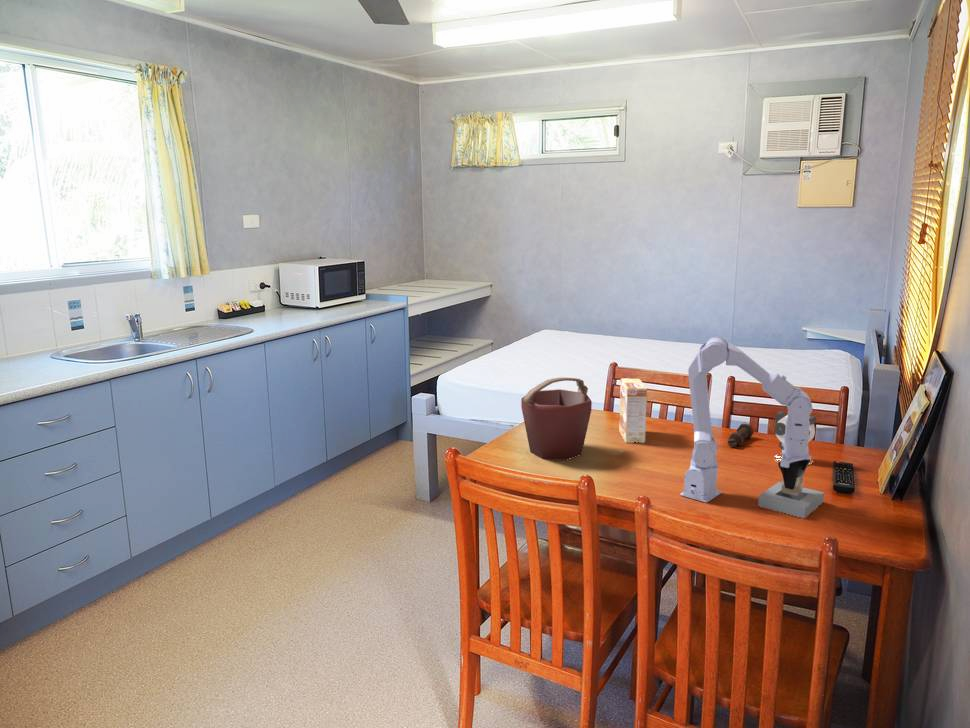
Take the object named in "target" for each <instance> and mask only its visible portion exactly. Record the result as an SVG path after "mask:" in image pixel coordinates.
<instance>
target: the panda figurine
mask: <svg viewBox="0 0 970 728" xmlns="http://www.w3.org/2000/svg"><path fill="white" fill-rule="evenodd" d="M787 417H788V414H787V415H786V413H785V412H784V411H779V412H778V413H776V414H775V415H774V420H775V421H776V422H777V423H776V424H775V426H774V434H775V436H776V438H777V439H778V440H779V444H778V447H779V448H780V450H781V454H782V455H783V451H784V441H785V429H786V419H787ZM809 422H810V426H809V438H808V443H809V442H811V441H812V440H813V439H814V437H815V433H816V428H815V423H817V417H816V416H813V415H810V419H809ZM777 455H778V454H776V455H774V457H776V458H780V457H781V456H777ZM781 458H782V457H781ZM776 460H777V461H778V460H780V461H781V459H776ZM776 460H775V461H776ZM777 461H776V462H777ZM812 462H813V463H814V460H813V461H812ZM809 464H810V463H809ZM811 464H812V463H811ZM812 465H813V464H812Z"/></svg>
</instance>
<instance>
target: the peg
mask: <svg viewBox="0 0 970 728" xmlns="http://www.w3.org/2000/svg"><path fill="white" fill-rule="evenodd" d="M804 474H805V472H804V470H800V471H799V473H798V475H797V478H796V483H795V487H794V489H793V490H792V489H788V488H785V486H784V480H783V477H782V478H781V479H782V481H781V482H782V491H781V492H783V493H787V494H791V495H795V496H797V495H798V494H800V493H801V492H802V489H803V486H804V477H805V476H804Z"/></svg>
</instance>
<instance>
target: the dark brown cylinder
mask: <svg viewBox="0 0 970 728" xmlns="http://www.w3.org/2000/svg"><path fill="white" fill-rule="evenodd" d="M754 434H755V431H754V429H753V427H752V425H751V424H747V423H741V424H740V425H739V426H738V428H737V429H736V430H735V432H732V433H731V434H730V435H729V437H728V439H727V445H728V447H730V448H735V447H738V446H737V445H740V446H741V445H742V444H743V442H745V439H746V438H752V436H753V435H754Z"/></svg>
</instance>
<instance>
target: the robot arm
mask: <svg viewBox="0 0 970 728" xmlns="http://www.w3.org/2000/svg"><path fill="white" fill-rule="evenodd" d="M723 363H725V366H737V367H738V368H740V369H741V370H743V371H744V372H745V373H746V374H748V375H750V376H751V377H752V378H754V379H756V381H758V382H759V383H761V386H762V391H763V392H764V393H766V394H767V395H769V396H770V397H771V398H772V399H774V401H776V402H778V403H779V404H780V405H781V406H785V407H786V408H787V415H788V417H787V419H786V429H785V441H784V451H783V455H782V459H781V461H779V462H777V465H778V467H779V470H780V471H781V475H782V478H783V480H784V486H785V488H788V489H792V490H793V489H794V487H795V483H796V478H797V475H798V473H799V471H800V470H804V473H805V471H806V469H807V467H809V466H808V464H809V463H810V461H811V459H812V455H810V454H809V451H810V450H809V449H810V447H808V446H809V442H808V438H809V426H810V422H809V419H810V417H811V414H812V413H813V409H814V408H813V404H812V401H811V397H810V396H809V394H807V393H806V391H804V390H802V389H801V387H796V386H795V385H793V384H792V383H791V382H789V381H788V380H787V376H786V375H784V374H781V375H780V374H779V373H778V372H777V373H769V372H768V371H767V370H766V369H764V368H763V366H761V365H760V364H759V363H757V362H756V361H755V360H754V359H752V358H751V357H750V356H749V355H747V354H746V353H745V352H744V351H743V350H742V349H740V348H738V347H737V346H736V345H735V344H732V343H731V342H727V340H726V339H725V338H723V337H721V336H712V337H710V338H709V339H707V340H706V341H704V343H703V344H701V346H700V347H699V349H698V351H697V353H696V354H695V356H694V358H693V360H692V361H691V363H690V365H689V367H688V370H687V373H688V374H687V375H688V383H689V393H690V402H691V403H690V404H691V414H692V422H693V435H694V436H693V438H694V439H693V442H694V443H693V444H694V446H693V450H692V453H691V459H690V466H689V469H687V471H686V472H685V473H684V478H683V479H684V480H683V491H682V492H680V494H679V495H680V496H682V497H684V498H685V497H686V498H689V499H693V500H696V501H700V502H702V503H703V502H704V503H708V502H710V501H711V500H714V499H715V498H717V497H718V496H720V495H721V494H722V493H723V491H721V490H717V485H718V484H717V482H718V468H719V467H718V465H719V462H718V460H716V459H717V452H718V443H717V441H716V440H715V438H714V433H713V429H712V420H711V411H710V401H709V400H710V399H709V390H708V389H709V388H708V378H707V375H708V374H709V373H710V371H712V370H713V368H716V367H718V366H721V365H722V364H723Z"/></svg>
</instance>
